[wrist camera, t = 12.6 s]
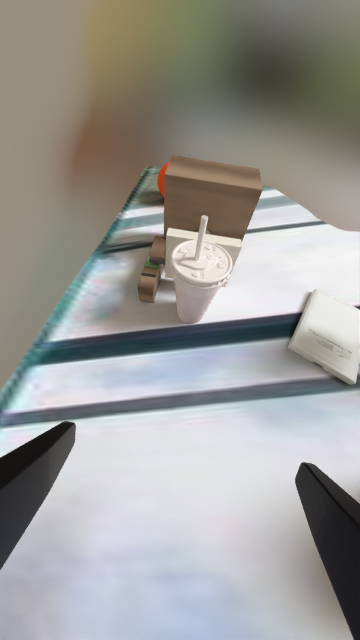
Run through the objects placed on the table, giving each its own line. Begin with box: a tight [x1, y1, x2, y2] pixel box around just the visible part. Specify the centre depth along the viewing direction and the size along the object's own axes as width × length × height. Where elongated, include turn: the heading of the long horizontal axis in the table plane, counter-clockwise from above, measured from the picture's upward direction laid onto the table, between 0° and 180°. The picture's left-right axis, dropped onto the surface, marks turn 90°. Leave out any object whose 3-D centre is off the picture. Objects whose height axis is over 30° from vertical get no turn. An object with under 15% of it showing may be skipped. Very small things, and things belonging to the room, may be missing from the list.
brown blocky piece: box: [138, 156, 263, 302], centre depth 27 cm, size 16×14×12 cm
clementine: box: [158, 162, 170, 197], centre depth 40 cm, size 8×7×7 cm
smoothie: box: [170, 215, 232, 324], centre depth 22 cm, size 6×6×14 cm
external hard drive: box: [288, 289, 360, 385], centre depth 27 cm, size 2×8×12 cm
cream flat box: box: [149, 228, 241, 287], centre depth 26 cm, size 2×11×7 cm, turn 82°
